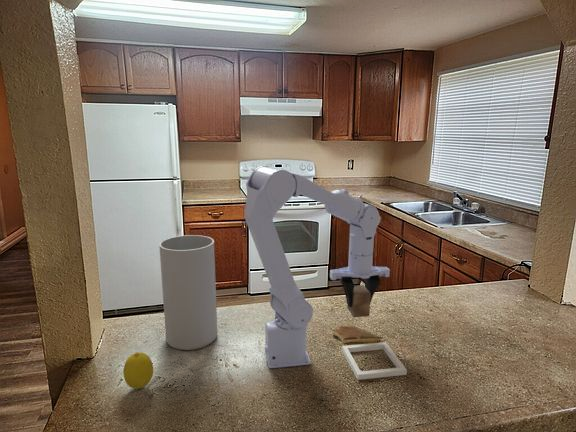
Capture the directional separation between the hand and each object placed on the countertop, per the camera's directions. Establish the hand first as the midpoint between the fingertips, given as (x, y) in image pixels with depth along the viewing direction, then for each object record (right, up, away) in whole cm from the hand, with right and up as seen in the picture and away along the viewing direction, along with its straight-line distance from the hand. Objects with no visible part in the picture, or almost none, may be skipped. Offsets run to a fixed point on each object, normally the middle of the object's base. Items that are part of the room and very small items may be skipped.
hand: (358, 304), depth 95 cm
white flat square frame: (+2, -11, -8) cm, 14 cm away
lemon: (-47, -13, -17) cm, 52 cm away
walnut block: (0, -2, 0) cm, 2 cm away
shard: (0, -9, +4) cm, 10 cm away
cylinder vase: (-42, -9, +1) cm, 43 cm away
